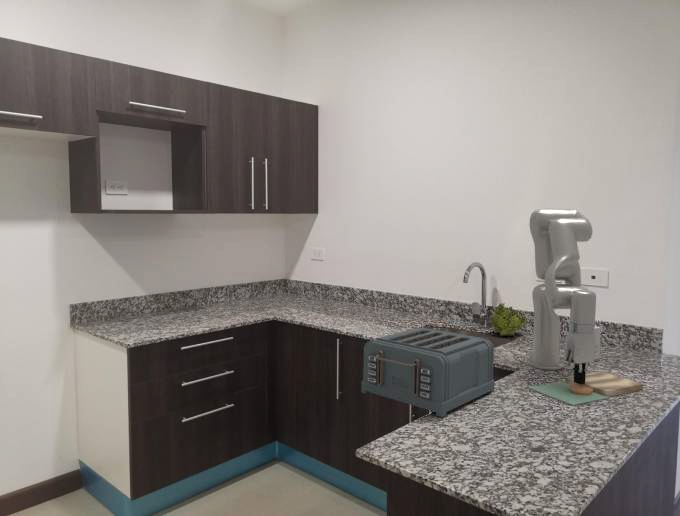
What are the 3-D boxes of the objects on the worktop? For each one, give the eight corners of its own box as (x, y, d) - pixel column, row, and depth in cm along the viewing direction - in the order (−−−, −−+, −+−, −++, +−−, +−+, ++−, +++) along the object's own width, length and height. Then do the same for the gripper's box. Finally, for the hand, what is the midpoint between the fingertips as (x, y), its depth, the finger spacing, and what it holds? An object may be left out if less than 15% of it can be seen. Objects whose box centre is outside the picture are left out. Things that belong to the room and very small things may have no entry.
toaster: (351, 395, 173) (352, 340, 171) (417, 372, 199) (418, 324, 198) (433, 421, 152) (435, 359, 150) (494, 391, 178) (496, 338, 177)
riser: (565, 383, 187) (565, 377, 187) (600, 376, 195) (601, 371, 195) (606, 397, 173) (606, 391, 173) (642, 389, 181) (643, 384, 181)
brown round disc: (564, 390, 178) (564, 385, 178) (576, 386, 182) (577, 382, 182) (584, 396, 172) (585, 391, 172) (596, 392, 176) (597, 388, 176)
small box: (572, 356, 224) (573, 324, 222) (582, 354, 227) (583, 323, 226) (590, 360, 217) (591, 328, 216) (600, 358, 220) (601, 327, 219)
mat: (528, 388, 181) (528, 387, 181) (562, 382, 188) (562, 381, 188) (573, 405, 165) (573, 404, 165) (608, 398, 172) (608, 397, 172)
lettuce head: (520, 342, 247) (522, 307, 246) (486, 338, 254) (487, 304, 253) (527, 334, 263) (528, 301, 262) (494, 331, 270) (495, 299, 269)
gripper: (587, 324, 184) (585, 377, 185) (556, 327, 177) (553, 383, 178) (607, 328, 177) (604, 383, 178) (575, 332, 170) (572, 389, 172)
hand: (579, 383), depth 178 cm, fingers closed
